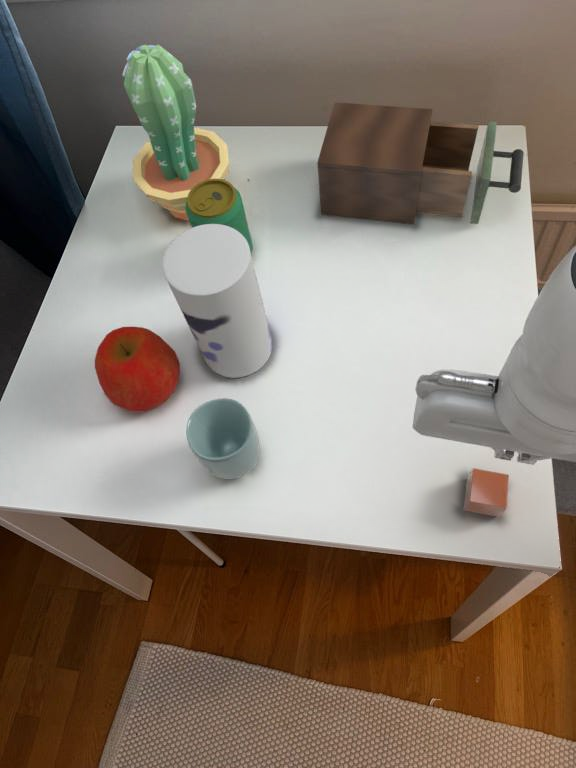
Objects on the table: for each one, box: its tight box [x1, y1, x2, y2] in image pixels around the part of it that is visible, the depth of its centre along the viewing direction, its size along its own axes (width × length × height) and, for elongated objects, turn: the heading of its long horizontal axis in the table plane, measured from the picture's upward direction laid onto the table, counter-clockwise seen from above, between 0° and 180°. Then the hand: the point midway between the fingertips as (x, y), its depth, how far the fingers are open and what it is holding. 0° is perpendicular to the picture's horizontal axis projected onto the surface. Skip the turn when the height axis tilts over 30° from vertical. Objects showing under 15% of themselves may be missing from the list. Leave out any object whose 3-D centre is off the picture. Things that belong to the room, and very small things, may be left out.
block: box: [463, 468, 510, 518], centre depth 68 cm, size 4×4×4 cm
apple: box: [94, 326, 181, 413], centre depth 76 cm, size 11×11×11 cm
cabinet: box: [316, 101, 433, 225], centre depth 88 cm, size 15×13×11 cm
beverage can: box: [185, 179, 254, 254], centre depth 85 cm, size 8×8×12 cm
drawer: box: [416, 120, 525, 225], centre depth 86 cm, size 18×11×9 cm, turn 77°
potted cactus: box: [122, 43, 230, 222], centre depth 85 cm, size 15×15×25 cm
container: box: [161, 224, 274, 379], centre depth 73 cm, size 10×10×20 cm
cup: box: [185, 397, 261, 480], centre depth 70 cm, size 8×8×10 cm
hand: (513, 454), depth 56 cm, fingers closed
